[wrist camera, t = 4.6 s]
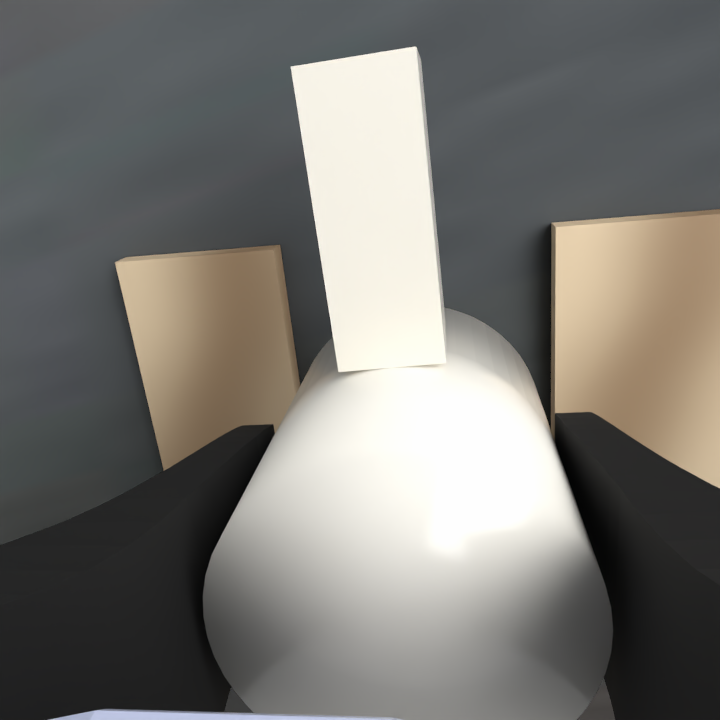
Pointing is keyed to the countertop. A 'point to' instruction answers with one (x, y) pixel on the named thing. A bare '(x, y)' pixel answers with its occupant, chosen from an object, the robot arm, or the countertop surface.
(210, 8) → the countertop surface
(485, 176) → the countertop surface
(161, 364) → the dock
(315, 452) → the white piece
